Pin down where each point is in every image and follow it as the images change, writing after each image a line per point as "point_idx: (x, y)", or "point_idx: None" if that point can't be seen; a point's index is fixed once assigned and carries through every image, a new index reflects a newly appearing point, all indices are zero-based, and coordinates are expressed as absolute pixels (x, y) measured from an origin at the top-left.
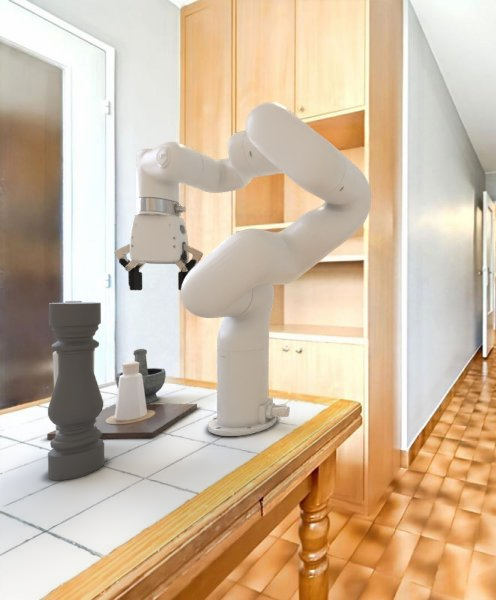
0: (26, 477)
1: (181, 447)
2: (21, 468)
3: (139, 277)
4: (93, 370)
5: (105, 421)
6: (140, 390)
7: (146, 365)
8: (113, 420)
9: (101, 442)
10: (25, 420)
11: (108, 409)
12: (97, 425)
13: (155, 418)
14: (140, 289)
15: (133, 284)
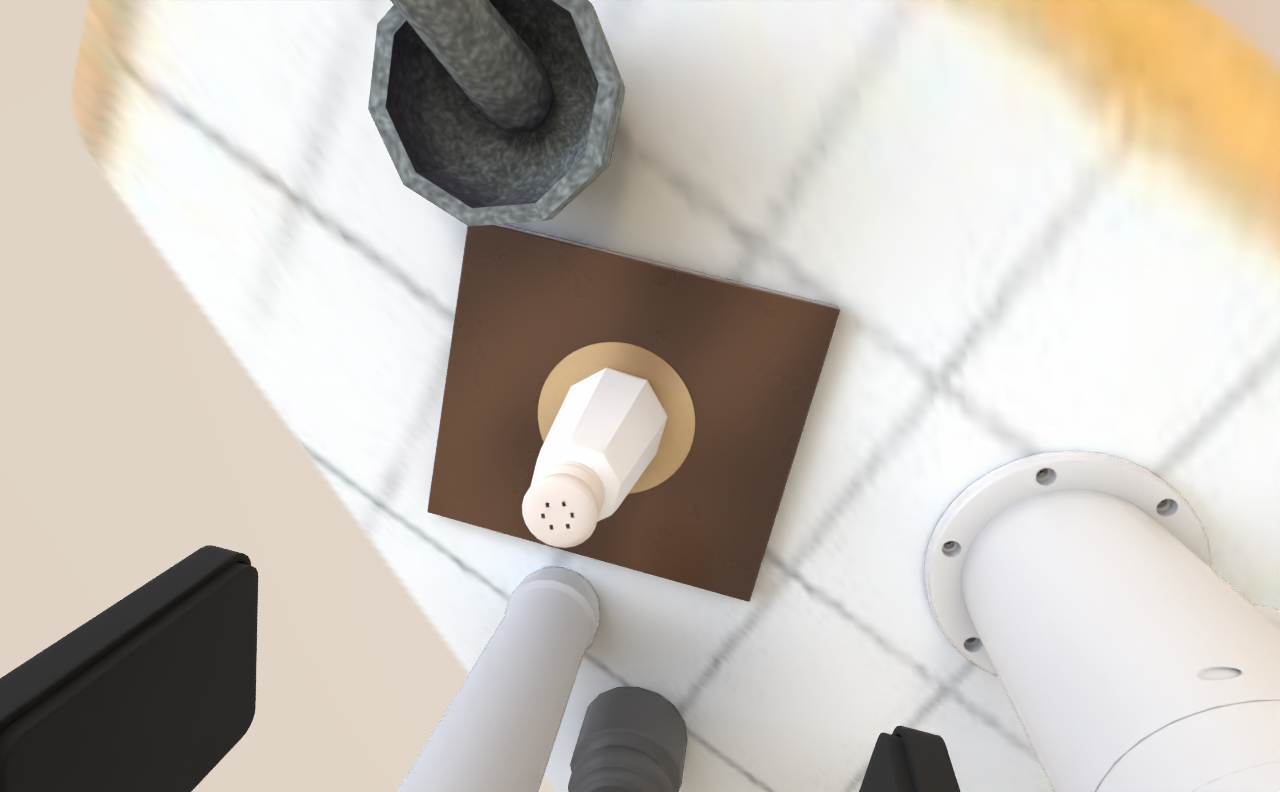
0: None
1: (861, 690)
2: None
3: (104, 748)
4: (533, 782)
5: None
6: (635, 475)
7: (474, 6)
8: None
9: (674, 771)
10: (235, 285)
11: (482, 292)
12: None
13: (714, 464)
14: (253, 597)
15: (201, 775)
